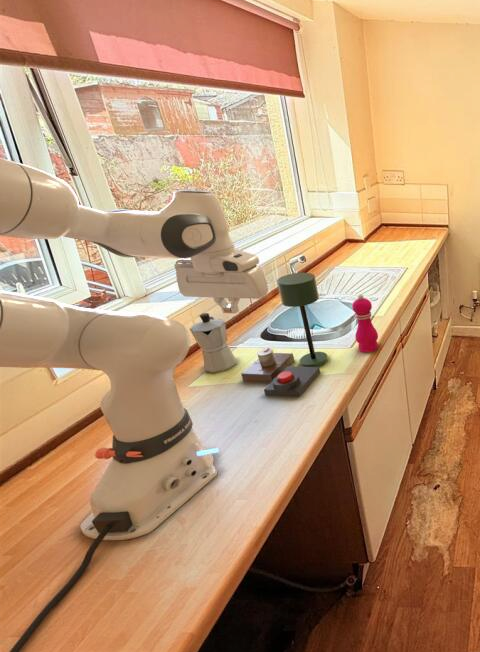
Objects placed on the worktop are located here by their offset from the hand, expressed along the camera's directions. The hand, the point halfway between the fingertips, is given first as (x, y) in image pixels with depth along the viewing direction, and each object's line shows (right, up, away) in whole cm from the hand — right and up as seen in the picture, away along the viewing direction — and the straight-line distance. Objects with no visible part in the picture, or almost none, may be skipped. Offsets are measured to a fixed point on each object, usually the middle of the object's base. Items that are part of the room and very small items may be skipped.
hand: (231, 312), depth 100 cm
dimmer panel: (-5, -19, +24) cm, 31 cm away
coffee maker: (-23, -17, +27) cm, 40 cm away
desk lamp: (+7, -17, +29) cm, 34 cm away
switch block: (+6, -22, +18) cm, 29 cm away
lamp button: (+6, -20, +14) cm, 25 cm away
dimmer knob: (-5, -16, +23) cm, 28 cm away
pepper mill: (+21, -13, +38) cm, 45 cm away
